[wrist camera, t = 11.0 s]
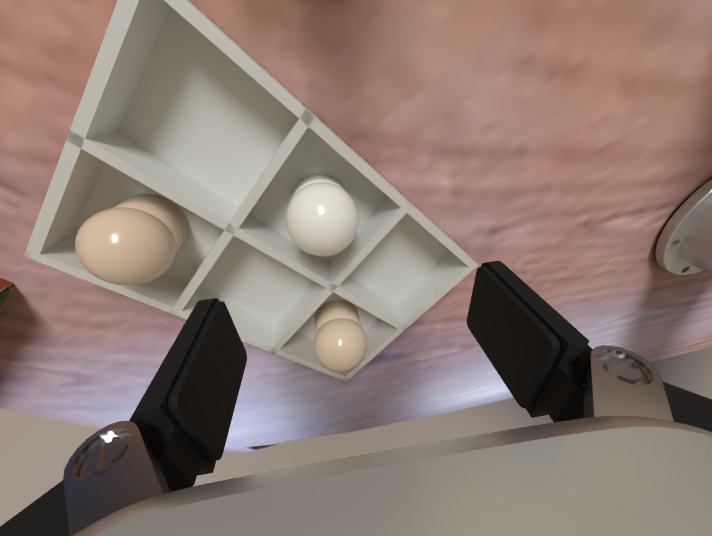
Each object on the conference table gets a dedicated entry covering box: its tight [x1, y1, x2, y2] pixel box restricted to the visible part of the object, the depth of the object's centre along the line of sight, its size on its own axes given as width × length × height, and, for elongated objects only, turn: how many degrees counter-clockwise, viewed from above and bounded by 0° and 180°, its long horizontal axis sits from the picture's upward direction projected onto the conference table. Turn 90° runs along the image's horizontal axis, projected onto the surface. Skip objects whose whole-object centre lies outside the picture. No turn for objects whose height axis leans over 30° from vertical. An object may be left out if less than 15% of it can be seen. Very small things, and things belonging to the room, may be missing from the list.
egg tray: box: [24, 0, 478, 381], centre depth 21 cm, size 25×17×4 cm
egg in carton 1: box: [75, 194, 190, 286], centre depth 17 cm, size 5×5×6 cm
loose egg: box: [286, 173, 359, 256], centre depth 18 cm, size 5×5×6 cm
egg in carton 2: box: [314, 300, 367, 372], centre depth 24 cm, size 5×5×6 cm
